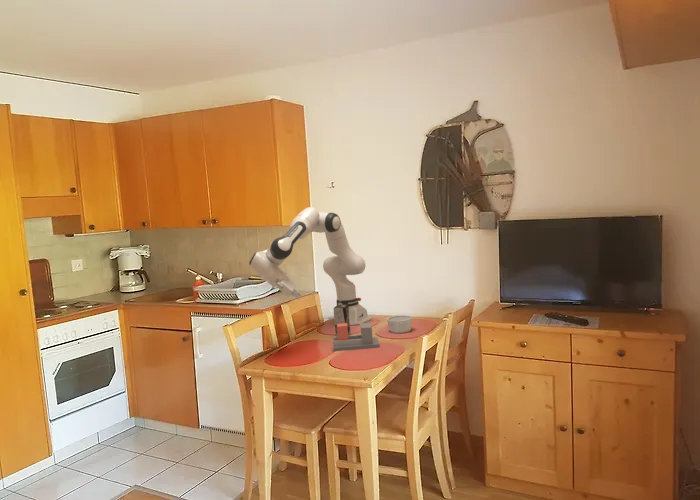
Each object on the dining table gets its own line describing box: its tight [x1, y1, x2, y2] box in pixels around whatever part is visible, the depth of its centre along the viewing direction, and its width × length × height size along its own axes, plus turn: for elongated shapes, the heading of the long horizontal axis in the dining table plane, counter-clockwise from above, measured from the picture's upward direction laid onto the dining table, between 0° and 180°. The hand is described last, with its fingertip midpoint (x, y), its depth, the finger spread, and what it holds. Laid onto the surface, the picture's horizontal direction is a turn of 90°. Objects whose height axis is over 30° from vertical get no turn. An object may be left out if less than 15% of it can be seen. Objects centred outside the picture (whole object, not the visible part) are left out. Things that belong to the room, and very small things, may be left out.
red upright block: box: [337, 323, 348, 341], centre depth 269 cm, size 5×6×9 cm
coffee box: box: [333, 304, 351, 337], centre depth 289 cm, size 9×6×16 cm
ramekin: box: [387, 314, 413, 334], centre depth 292 cm, size 13×13×7 cm
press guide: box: [332, 322, 381, 352], centre depth 269 cm, size 22×14×10 cm, turn 91°
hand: (299, 297), depth 267 cm, fingers closed
